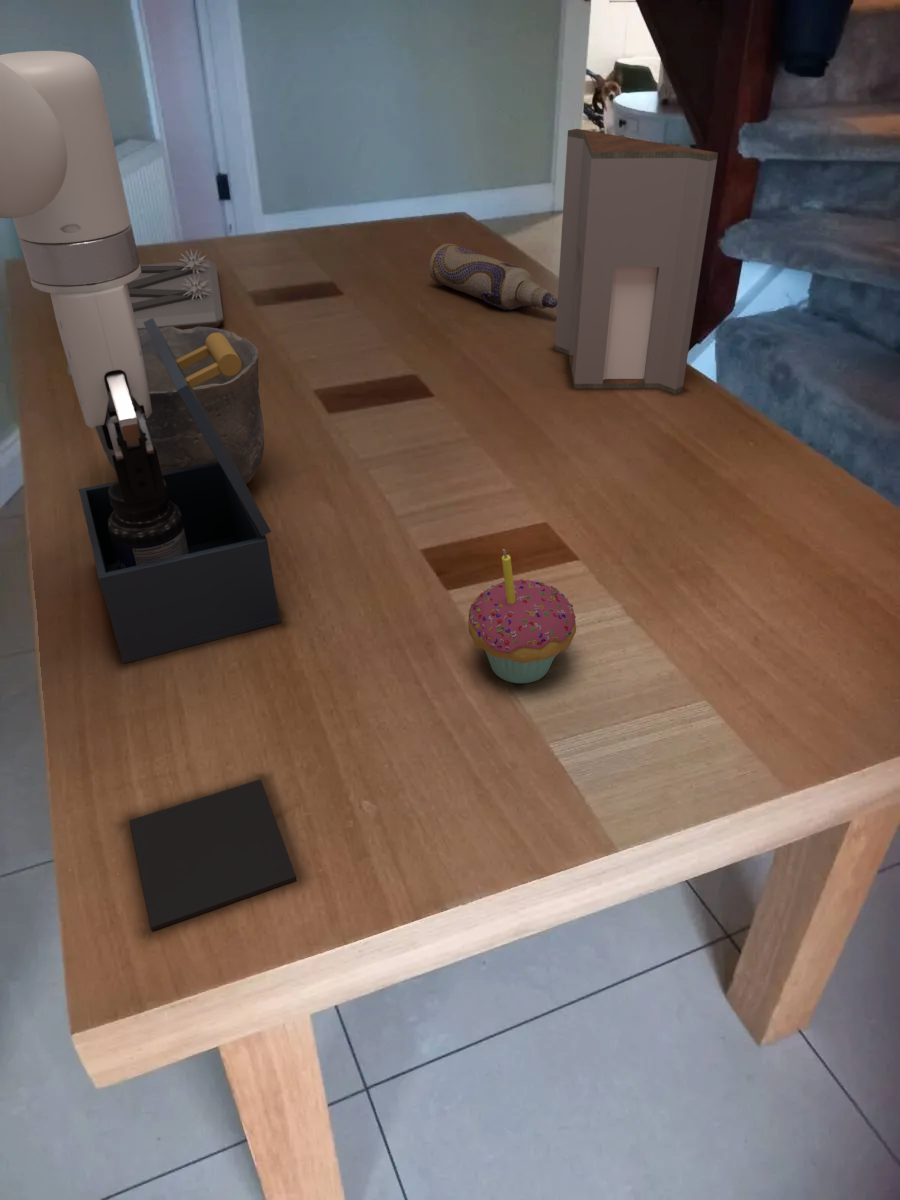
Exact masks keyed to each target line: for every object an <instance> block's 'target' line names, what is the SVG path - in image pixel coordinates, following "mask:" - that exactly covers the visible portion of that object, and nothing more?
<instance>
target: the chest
mask: <svg viewBox="0 0 900 1200" xmlns="http://www.w3.org/2000/svg"><path fill="white" fill-rule="evenodd" d="M162 477H163V479H164V480H165V481H166V484H167V488H168V491H169V501H172V502H173V503H174V504H176V505H177V506H178V507H179V509H180V511H181V513H182V517H183V520H184V526H185V531H186V535H187V540H188V545H189V550H190V554H185V555H181V556H177V557H172V558H168V559H164V560H159V561H155V562H150V563H146V564H142V565H137V566H133V567H129V568H124V569H120V570H119V567H118V563H117V560H116V556H115V552H114V548H113V544H112V541H111V537H110V533H109V529H108V521H109V517H110V515H111V514H112V512H113V511H114V509H113V508H112V506H111V504H110V499H109V495H108V490H109V488H110V486H111V485H112V484H113V483H114V482H115V481H113V482H108V483H102V484H96V485H92V486H87V487H82V488H79V489H78V492H79V497H80V502H81V506H82V511H83V514H84V519H85V523H86V528H87V533H88V536H89V541H90V546H91V550H92V555H93V559H94V563H95V567H96V568H95V569H96V572H97V576H98V580H99V584H100V587H101V591H102V594H103V598H104V601H105V605H106V608H107V611H108V615H109V618H110V623H111V626H112V628H113V632H114V635H115V639H116V643H117V646H118V649H119V653H120V656H121V660H122V663H123V664H127V663H132V662H136V661H138V660H139V661H140V660H144V659H147V658H151V657H154V656H158V655H162V654H166V653H170V652H174V651H177V650H182V649H185V648H188V647H189V648H190V647H193V646H197V645H200V644H204V643H208V642H212V641H216V640H220V639H224V638H228V637H231V636H235V635H238V634H243V633H246V632H247V633H248V632H250V631H254V630H258V629H262V628H265V627H270V626H273V625H277V624H281V621H280V615H279V607H278V601H277V593H276V587H275V582H274V574H273V568H272V562H271V555H270V554H271V553H270V549H269V543H268V542H269V541H268V538H267V536H266V535H264V536H261V534H260V533H259V531H258V529H257V527H256V526H255V524H254V522H253V521H252V519H251V517H250V515H249V514H248V512H247V510H246V509H245V507H244V505H243V503H242V502H241V500H240V498H239V497H238V495H237V493H236V491H235V490H234V488H233V486H232V485H231V483H230V481H229V479H228V478H227V476H226V474H225V473H224V471H223V469H222V467H221V466H220V464H219V462H218V461H217V462H212V463H207V464H202V465H197V466H192V467H187V468H182V469H177V470H172V471H167V472H162Z"/></svg>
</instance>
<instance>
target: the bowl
mask: <svg viewBox="0 0 900 1200" xmlns="http://www.w3.org/2000/svg"><path fill="white" fill-rule="evenodd" d="M159 330H160V332H161V333H162V335H163V337H164V339H165V340H166V342H167V344H168V346H169V347H170V349H171V351H172V353H173V355H174V356H175V358H176V360H177V359H179V358H181V357H183V356H185V355H187V354H189V353H191V352H193V351H195V350H197V349H199V348H201V347H203V346H205V341H206V338H207V337H208V336H209V335H210V334H212V333H221V334H223V335H224V336H225V337H226V339H227V340H228V342H229V343H230V345H231V346H232V348H233V349H234V350H235V352H236V353H237V355H238V356H239V358H240V360H241V363H242V366H241V369H240V371H239V372H238V373H237V374H236V375H233V376H226V375H224V374H222V373H221V374H219V375H217V376H215V377H213V378H211V379H209V380H207V381H205V382H203V383H201V384H199V385H197V386H195V387H193V390H194V392H195V393H196V395H197V397H198V399H199V400H200V402H201V404H202V406H203V407H204V409H205V411H206V413H207V414H208V416H209V418H210V420H211V421H212V423H213V425H214V427H215V428H216V430H217V432H218V434H219V436H220V437H221V439H222V441H223V443H224V444H225V446H226V448H227V450H228V451H229V453H230V455H231V457H232V459H233V461H234V463H235V464H236V466H237V468H238V470H239V472H240V474H241V476H242V478H243V480H244V481H245V483H246V485H248V483H250V482H251V480H252V479H253V477H254V476H255V474H256V472H257V470H258V469H259V468H260V467H259V466H260V464H261V462H262V459H263V455H264V449H265V426H264V425H265V424H264V417H263V413H262V408H261V397H260V393H259V388H260V380H259V379H260V378H259V359H260V352H259V349H258V348H257V347H256V345H255V344H253V343H252V342H251V341H249V340H248V339H247V338H246V337H241V336H239V335H238V334H236V332H235V333H234V332H233V331H228V330H225V329H221V328H218V327H199V326H198V327H195V328H193V329H185V330H181V329H177V328H174V327H165V328H159ZM137 331H138V335H139V340H140V345H141V350H142V355H143V360H144V365H145V371H146V376H147V382H148V388H149V394H150V401H151V407H152V413H151V415H150V416H149V417H148V418H147V419H145V420H146V424H147V427H148V431H149V435H150V438H151V442H152V446H153V447H155V448H156V451H157V455H158V460H159V464H160V468H161V472H167V471H172V470H177V469H182V468H187V467H192V466H197V465H202V464H207V463H212V462H217V459H216V457H215V455H214V454H213V452H212V450H211V449H210V447H209V445H208V443H207V442H206V440H205V438H204V437H203V435H202V433H201V431H200V430H199V428H198V426H197V425H196V423H195V421H194V419H193V418H192V416H191V414H190V412H189V411H188V409H187V407H186V406H185V404H184V402H183V400H182V399H181V397H180V395H179V394H178V392H177V390H176V388H175V386H174V384H173V382H172V380H171V378H170V376H169V374H168V372H167V370H166V368H165V366H164V364H163V361H162V359H161V357H160V355H159V353H158V351H157V349H156V347H155V345H154V343H153V341H152V339H151V337H150V335H149V333H148V331H147V329H142V330H137ZM214 363H215V362H214V360H213V359H212V357H211V355H210V356H208V357H206V358H204V359H202V360H200V361H198V362H196V363H194V364H192V365H190V366H188V367H186V368H184V369H182V370H183V372H184V374H185V376H186V377H188V376H190V375H192V374H194V373H196V372H198V371H200V370H202V369H204V368H206V367H208V366H210V365H212V364H214ZM66 372H67V374H68V376H69V378H71V379H72V376H71V372H70V369H69V365H68V363H67V364H66ZM95 430H96V433H97V436H98V438H99V441H100V443H101V446H102V449H103V451H104V453H105V454H106V457H107V461H108V462H109V464H110V466H111V467H112V469H113V470H114V471H115V472H116V470H115V466H114V463H113V459H112V456H113V455H115V452H114V450H110V449H109V448H108V447H107V443H106V440H105V436H104V432H103V428H102V425H100V426H96V429H95ZM121 450H122V449H121Z"/></svg>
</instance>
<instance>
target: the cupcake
mask: <svg viewBox="0 0 900 1200" xmlns="http://www.w3.org/2000/svg"><path fill="white" fill-rule="evenodd" d="M502 553H503V555H502V556H501V564H502V571H503V580H502V582H500V583H498V584H495V585H491V586H490V587H487V588H486V589H483V591H481V593H480V594H479V595H478V596H477V597H476V598H474V599H473V602H472V603H470V604H469V606H470V607H469V609H468V619H467V620H468V621H467V626H468V633H469V635H470V637H471V640H472V642H473V644H474V645H475V647H477V648H479V649H480V650H483V651H485V654H486V656H487V659H488V662H489V665H490V668H491V669H492V671H493V673H494V674H495V675H496V676H497V677H499V678H500V679H502V680H504V681H506V682H509V683H513V684H528V683H529V684H530V683H533V682H534V683H535V682H537V681H539V680H540V679H542V678H544V676H546V674H547V673H548V672H549V670H550V668H551V665H552V663H553V661H554V659H555V657H557V655H558V654H559V653H561V652H562V651H564V650H567V649H568V648H569V647H570V645H572V641H573V640H574V637H575V635H576V633H577V632H576V631H577V623H576V618H577V616H576V614H575V611H574V608H573V607H574V605H573V604H571V603H570V602H569V599H568V598H566V597H565V594H564V593H560V591H559V590H558V589H557V588H556V587H554V586H553V585H551V586H549V585H547V584H545V583H544V582H540V581H539V580H537V579H534V580H530V579H517V580H514V575H513V574H514V573H513V567H512V558H511V555H510V554H507V550H506V549H505V548H502Z"/></svg>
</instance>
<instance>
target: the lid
mask: <svg viewBox="0 0 900 1200" xmlns="http://www.w3.org/2000/svg"><path fill="white" fill-rule="evenodd" d="M144 325H145V327H146V329H147V331H148V333H149V335H150V337H151V339H152V341H153V343H154V345H155V347H156V349H157V351H158V353H159V355H160V357H161V359H162V361H163V364H164V366H165V368H166V370H167V372H168V374H169V376H170V378H171V380H172V382H173V384H174V386H175V388H176V390H177V392H178V394H179V395H180V397H181V399H182V400H183V402H184V404H185V406H186V407H187V409H188V411H189V412H190V414H191V416H192V418H193V419H194V421H195V423H196V425H197V426H198V428H199V430H200V431H201V433H202V435H203V437H204V438H205V440H206V442H207V443H208V445H209V447H210V449H211V450H212V452H213V454H214V455H215V457H216V459H217V461H218V462H219V464H220V466H221V467H222V469H223V471H224V473H225V474H226V476H227V478H228V479H229V481H230V483H231V485H232V486H233V488H234V490H235V491H236V493H237V495H238V497H239V498H240V500H241V502H242V503H243V505H244V507H245V509H246V510H247V512H248V514H249V515H250V517H251V519H252V521H253V522H254V524H255V526H256V527H257V529H258V531H259V533H260V534H261V536H264V535H265V536H266V535H268V534H270V533H271V532H272V530H271V528H270V527H269V524H268V522H267V520H266V519H265V518H264V517H265V516H264V515H263V514H262V512H261V510H260V508H259V506H258V503H257V502H256V500H255V498H254V496H253V495H252V492H251V491H250V489H249V487H248V484H246V483H245V481H244V480H243V478H242V476H241V474H240V472H239V470H238V468H237V466H236V464H235V463H234V461H233V459H232V457H231V455H230V453H229V451H228V450H227V448H226V446H225V444H224V443H223V441H222V439H221V437H220V436H219V434H218V432H217V430H216V428H215V427H214V425H213V423H212V421H211V420H210V418H209V416H208V414H207V413H206V411H205V409H204V407H203V406H202V404H201V402H200V400H199V399H198V397H197V395H196V393H195V392H194V390H193V387H195V386H197V385H199V384H201V383H203V382H205V381H207V380H209V379H211V378H213V377H215V376H217V375H219V374H221V373H222V374H224V375H226V376H233V375H236V374H237V373H238V372H239V371H240V369H241V366H242V363H241V360H240V358H239V356H238V355H237V353H236V352H235V350H234V349H233V348H232V346H231V345H230V343H229V342H228V340H227V339H226V337H225V336H224V335H223V334H221V333H212V334H210V335H209V336H208V337H207V338H206V341H205V346H203V347H201V348H199V349H197V350H195V351H193V352H191V353H189V354H187V355H185V356H183V357H181V358H179V359H177V360H176V358H175V356H174V355H173V353H172V351H171V349H170V347H169V346H168V344H167V342H166V340H165V339H164V337H163V335H162V333H161V332H160V330H159V328H158V326H157V325H156V323H155V321H154V319H153V318H151V319H149V320H147V321H145V322H144ZM210 355H211V357H212V359H213V360H214V362H215V363H214V364H212V365H210V366H208V367H206V368H204V369H202V370H200V371H198V372H196V373H194V374H192V375H190V376H188V377H186V376H185V374H184V372H183V370H182V369H184V368H186V367H188V366H190V365H192V364H194V363H196V362H198V361H200V360H202V359H204V358H206V357H208V356H210Z"/></svg>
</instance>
